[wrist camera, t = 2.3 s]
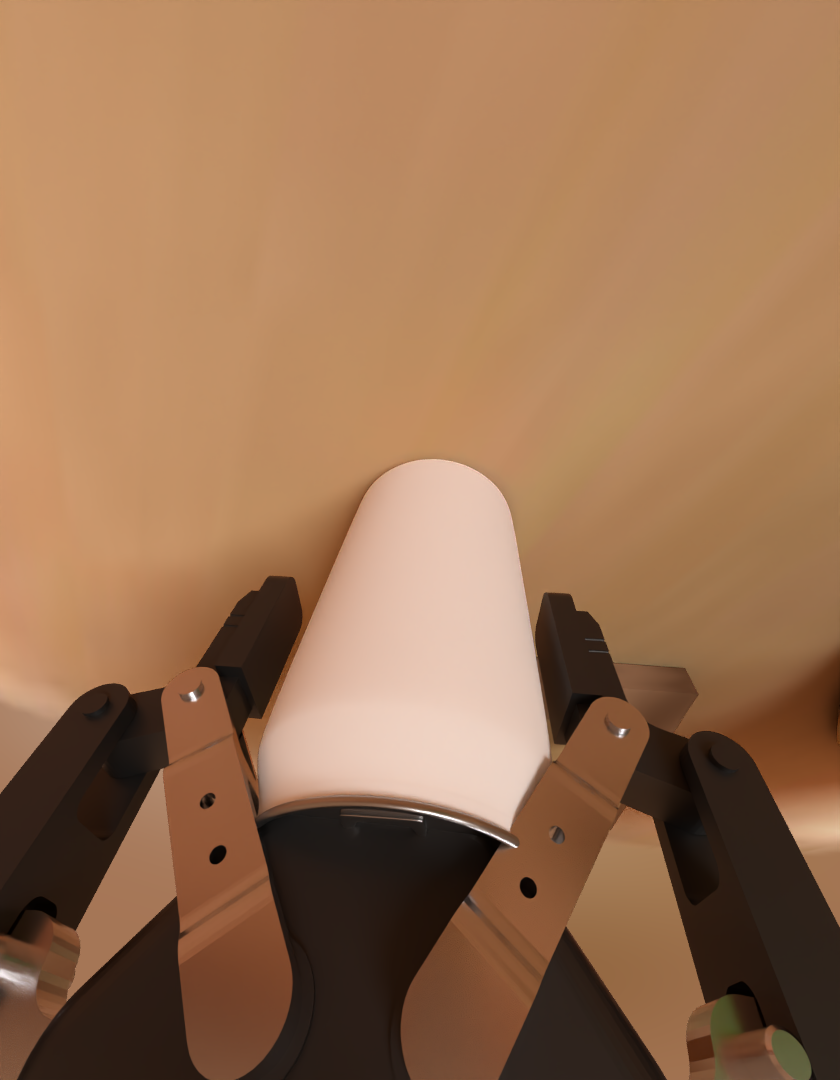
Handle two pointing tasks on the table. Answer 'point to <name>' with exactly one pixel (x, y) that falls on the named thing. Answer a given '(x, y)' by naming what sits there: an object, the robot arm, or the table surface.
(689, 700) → the socket stand
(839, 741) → the tankard
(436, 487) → the can
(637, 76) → the table surface
